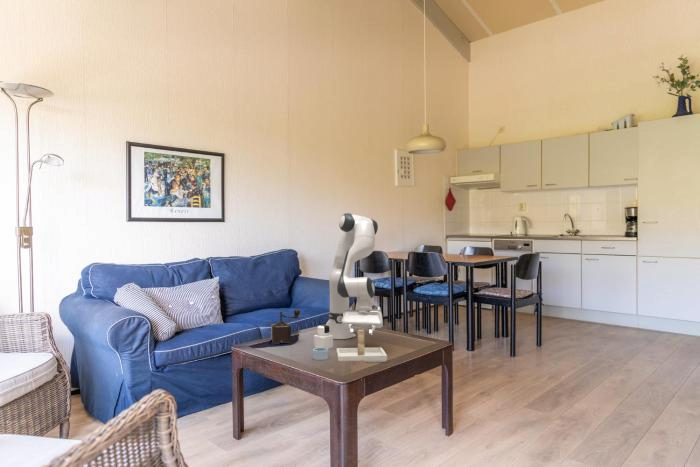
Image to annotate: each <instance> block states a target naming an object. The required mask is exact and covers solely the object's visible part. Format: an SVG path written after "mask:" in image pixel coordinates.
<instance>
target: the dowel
mask: <svg viewBox="0 0 700 467" xmlns="http://www.w3.org/2000/svg"><path fill="white" fill-rule="evenodd" d="M365 337H366V336H365V330H364V329H357V348H358V356H363V355H365V348H366V347H365V341H366V340H365Z"/></svg>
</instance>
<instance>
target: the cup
mask: <svg viewBox="0 0 700 467" xmlns="http://www.w3.org/2000/svg"><path fill="white" fill-rule="evenodd" d="M312 360H315V361H325V360H329V349H328V348H314V347H313V348H312Z"/></svg>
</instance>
